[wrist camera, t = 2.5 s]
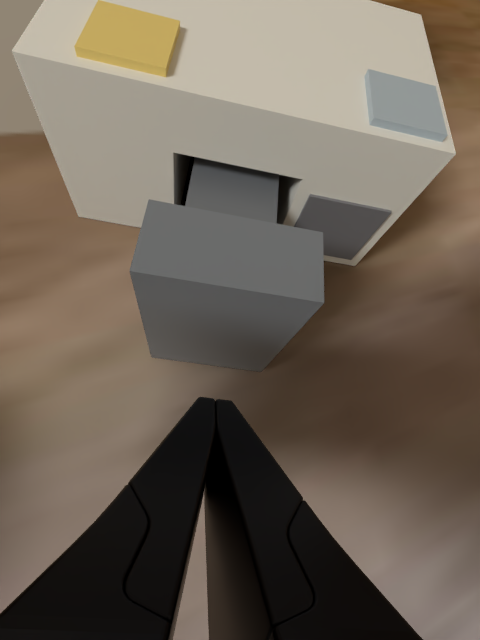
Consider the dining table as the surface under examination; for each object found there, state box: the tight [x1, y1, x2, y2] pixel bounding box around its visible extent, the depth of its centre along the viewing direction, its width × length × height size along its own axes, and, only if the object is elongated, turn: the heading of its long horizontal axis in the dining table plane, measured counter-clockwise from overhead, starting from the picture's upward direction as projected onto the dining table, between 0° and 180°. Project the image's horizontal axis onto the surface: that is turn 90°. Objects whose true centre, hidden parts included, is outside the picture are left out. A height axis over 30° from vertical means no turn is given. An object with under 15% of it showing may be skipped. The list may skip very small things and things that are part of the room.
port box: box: [12, 0, 456, 266], centre depth 17 cm, size 10×16×8 cm, turn 85°
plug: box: [130, 157, 324, 372], centre depth 14 cm, size 9×5×8 cm, turn 175°
